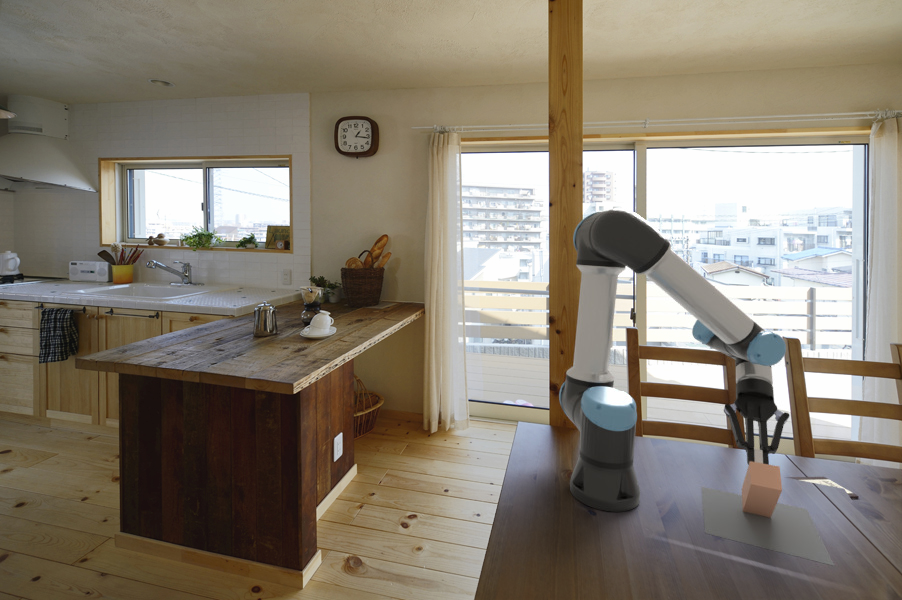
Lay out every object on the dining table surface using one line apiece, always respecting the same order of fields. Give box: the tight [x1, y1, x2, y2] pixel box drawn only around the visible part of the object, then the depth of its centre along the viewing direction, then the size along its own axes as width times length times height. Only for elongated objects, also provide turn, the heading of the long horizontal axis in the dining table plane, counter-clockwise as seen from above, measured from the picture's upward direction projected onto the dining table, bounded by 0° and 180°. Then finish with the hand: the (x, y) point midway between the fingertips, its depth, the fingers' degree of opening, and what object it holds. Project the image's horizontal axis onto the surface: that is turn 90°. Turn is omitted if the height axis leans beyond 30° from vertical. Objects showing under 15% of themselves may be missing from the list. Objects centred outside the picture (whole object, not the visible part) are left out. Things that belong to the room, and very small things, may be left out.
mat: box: [700, 486, 835, 567], centre depth 94 cm, size 20×20×1 cm
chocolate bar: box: [784, 476, 859, 499], centre depth 108 cm, size 9×1×18 cm
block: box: [741, 461, 783, 517], centre depth 94 cm, size 5×5×12 cm
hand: (758, 480), depth 98 cm, fingers closed
